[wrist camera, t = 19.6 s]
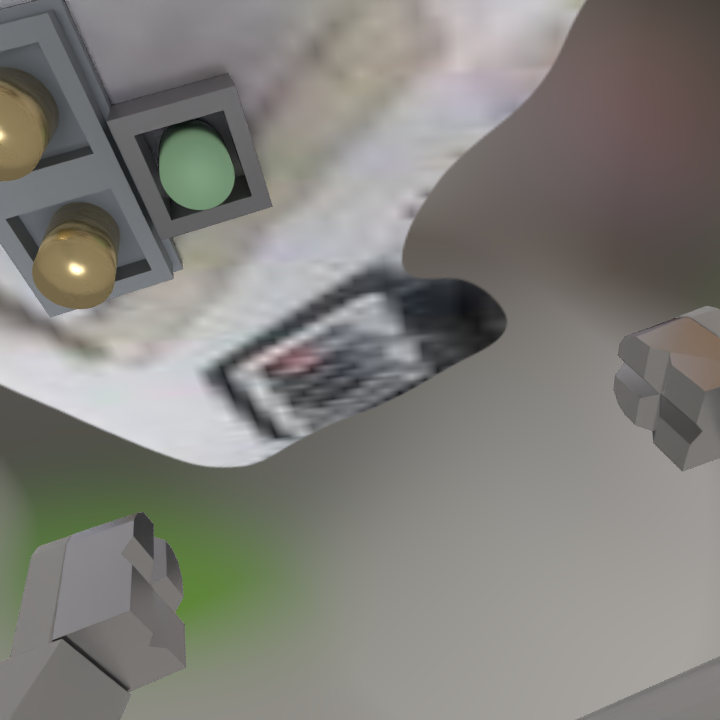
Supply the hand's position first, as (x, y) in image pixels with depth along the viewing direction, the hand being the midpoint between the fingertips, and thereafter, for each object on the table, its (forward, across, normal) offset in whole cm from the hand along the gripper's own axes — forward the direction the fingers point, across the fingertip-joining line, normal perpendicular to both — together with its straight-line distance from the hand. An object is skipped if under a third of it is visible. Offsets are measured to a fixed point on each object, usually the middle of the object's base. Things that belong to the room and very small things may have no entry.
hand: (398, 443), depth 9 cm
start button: (+30, +3, +3) cm, 30 cm away
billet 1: (+30, +11, -2) cm, 32 cm away
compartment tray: (+31, +11, +2) cm, 33 cm away
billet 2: (+30, +11, +6) cm, 32 cm away
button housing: (+31, +3, +3) cm, 31 cm away
